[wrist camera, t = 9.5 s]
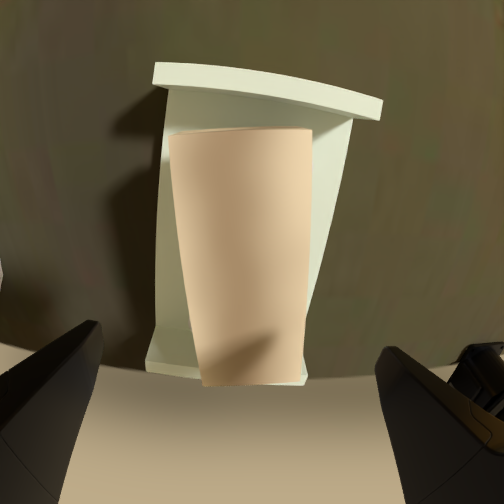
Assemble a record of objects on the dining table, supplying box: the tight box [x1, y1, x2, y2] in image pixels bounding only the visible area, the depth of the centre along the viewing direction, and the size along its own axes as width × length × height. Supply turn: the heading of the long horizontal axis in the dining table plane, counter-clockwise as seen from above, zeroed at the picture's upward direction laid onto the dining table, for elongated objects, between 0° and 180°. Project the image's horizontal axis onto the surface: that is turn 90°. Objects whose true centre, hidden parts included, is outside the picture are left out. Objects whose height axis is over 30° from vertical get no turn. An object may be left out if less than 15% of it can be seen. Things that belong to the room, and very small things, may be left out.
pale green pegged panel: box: [145, 62, 383, 385], centre depth 17 cm, size 10×17×4 cm, turn 171°
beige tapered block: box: [168, 126, 312, 386], centre depth 14 cm, size 5×12×3 cm, turn 2°
